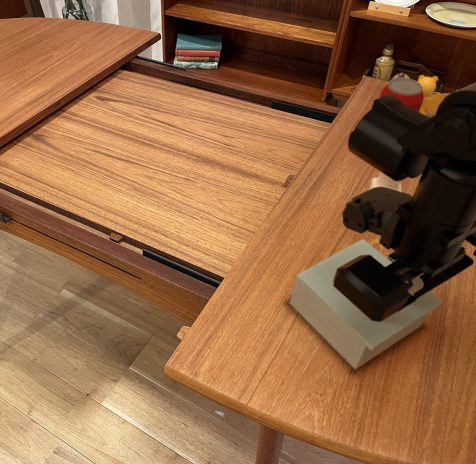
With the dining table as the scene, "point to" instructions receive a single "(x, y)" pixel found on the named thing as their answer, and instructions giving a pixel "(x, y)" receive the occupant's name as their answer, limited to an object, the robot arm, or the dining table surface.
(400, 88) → the beverage can
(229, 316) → the dining table surface
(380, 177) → the pepper shaker
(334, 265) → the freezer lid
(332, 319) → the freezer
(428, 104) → the figurine
